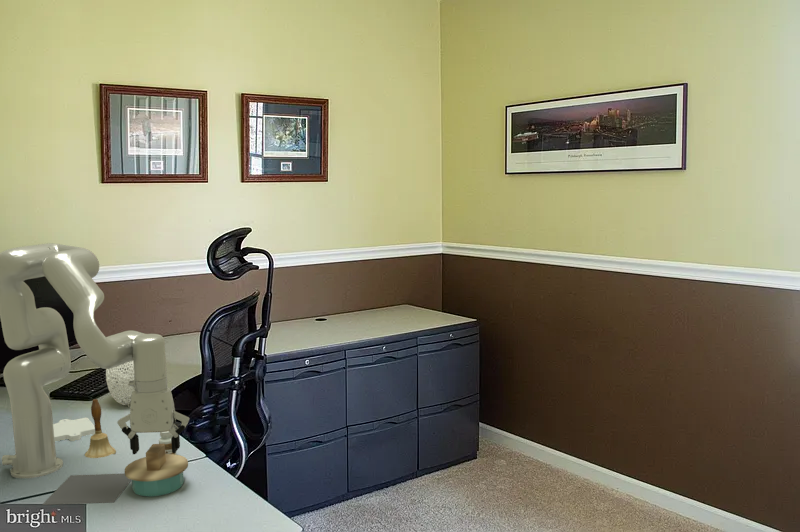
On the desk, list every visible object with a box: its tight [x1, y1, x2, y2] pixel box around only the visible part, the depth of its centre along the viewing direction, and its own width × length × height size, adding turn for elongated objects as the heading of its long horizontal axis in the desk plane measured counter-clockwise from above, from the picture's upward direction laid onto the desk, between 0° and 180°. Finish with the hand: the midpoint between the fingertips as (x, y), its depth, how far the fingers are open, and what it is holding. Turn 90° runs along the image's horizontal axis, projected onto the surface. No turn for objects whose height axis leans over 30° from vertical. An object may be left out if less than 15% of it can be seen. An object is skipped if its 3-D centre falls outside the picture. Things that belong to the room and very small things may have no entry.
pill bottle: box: [158, 431, 177, 455], centre depth 207 cm, size 4×4×8 cm
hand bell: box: [84, 398, 117, 459], centre depth 210 cm, size 8×8×16 cm
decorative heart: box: [105, 361, 134, 408], centre depth 253 cm, size 18×11×17 cm, turn 35°
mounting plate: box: [53, 417, 95, 442], centre depth 229 cm, size 18×13×2 cm
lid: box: [124, 443, 189, 481], centre depth 187 cm, size 15×15×5 cm
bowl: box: [131, 471, 185, 497], centre depth 187 cm, size 12×12×5 cm
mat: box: [41, 473, 132, 506], centre depth 187 cm, size 17×17×1 cm
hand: (155, 451), depth 186 cm, fingers open, 9 cm apart
